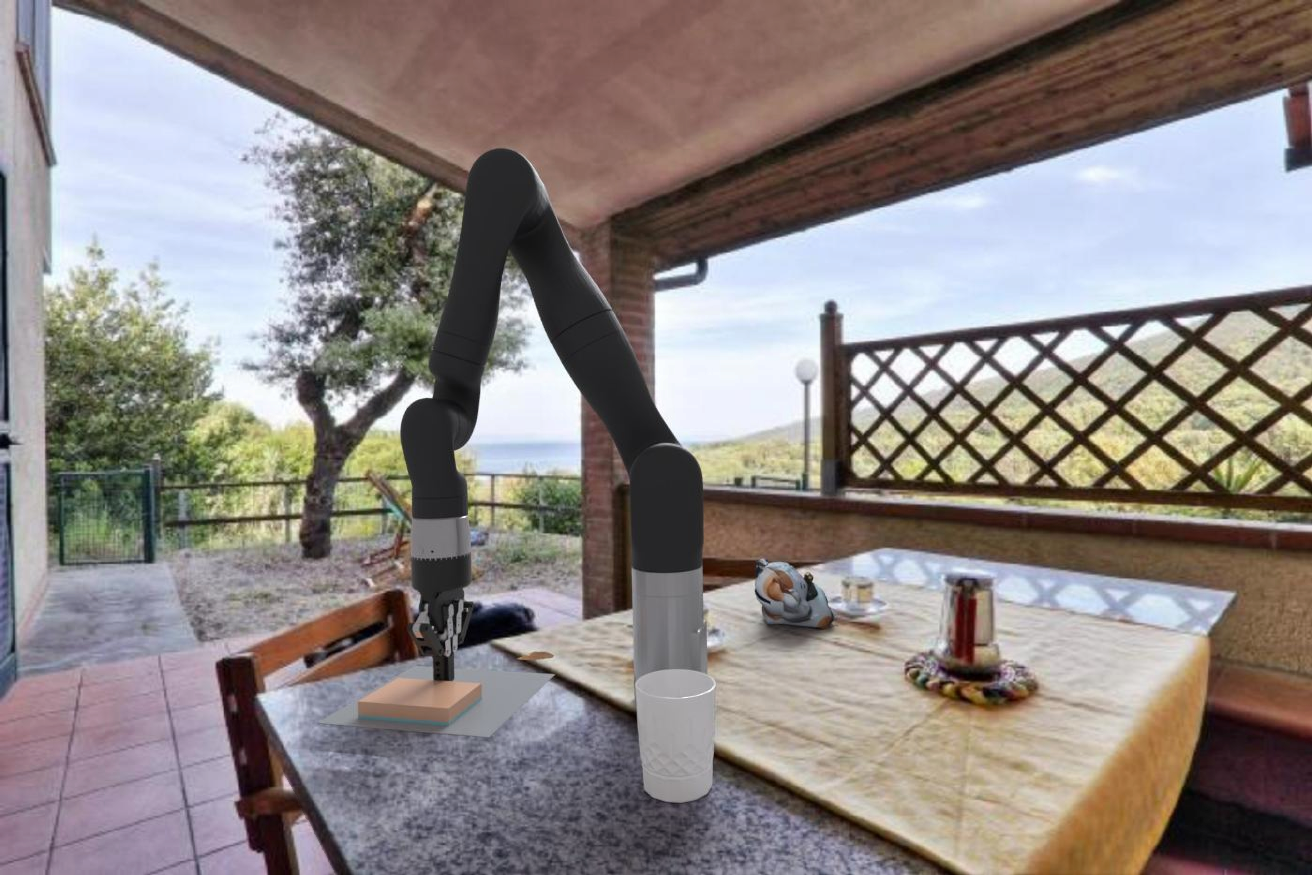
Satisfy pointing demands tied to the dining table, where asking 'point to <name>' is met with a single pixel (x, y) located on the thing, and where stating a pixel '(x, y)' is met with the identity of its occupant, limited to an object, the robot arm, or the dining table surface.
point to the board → (482, 720)
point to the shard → (536, 656)
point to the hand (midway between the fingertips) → (444, 682)
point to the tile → (420, 701)
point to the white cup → (676, 733)
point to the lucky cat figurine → (791, 596)
